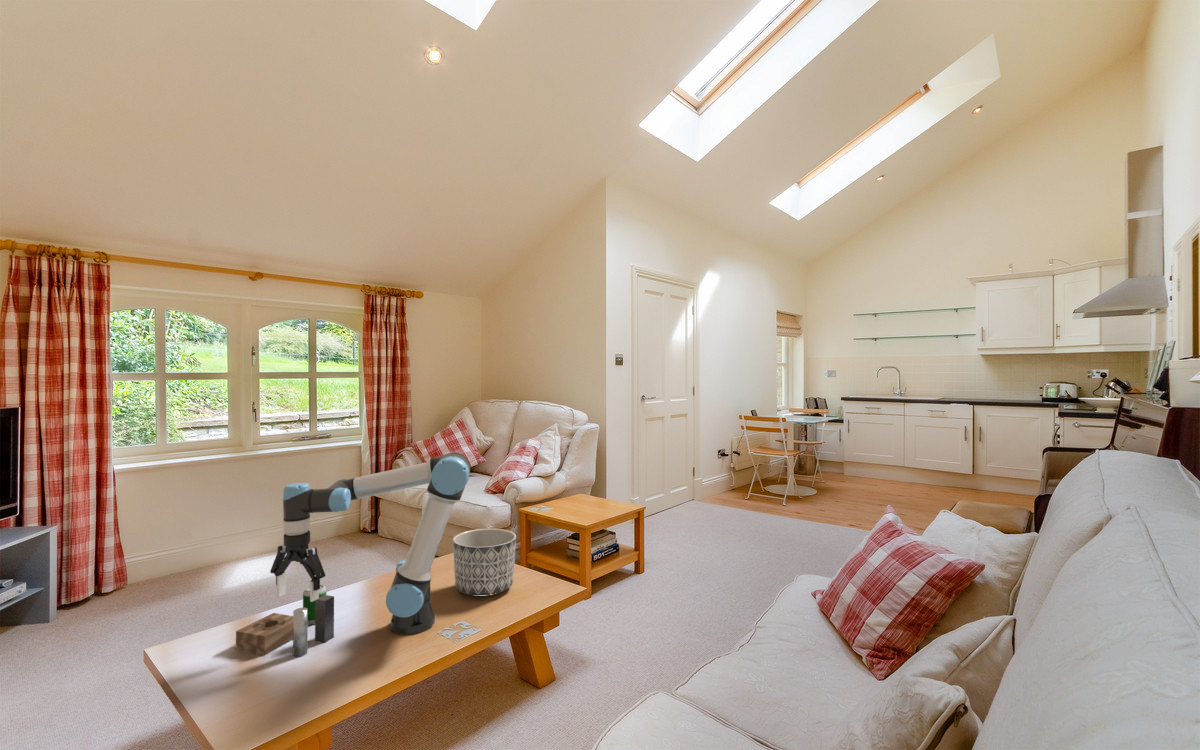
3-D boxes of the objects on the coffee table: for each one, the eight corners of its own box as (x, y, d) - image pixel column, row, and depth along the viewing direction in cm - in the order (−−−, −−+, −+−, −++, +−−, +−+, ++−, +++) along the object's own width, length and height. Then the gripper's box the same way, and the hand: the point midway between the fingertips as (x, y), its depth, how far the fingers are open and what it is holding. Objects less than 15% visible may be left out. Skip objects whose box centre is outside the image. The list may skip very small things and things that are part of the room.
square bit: (333, 637, 181) (334, 596, 181) (324, 642, 177) (325, 601, 177) (324, 635, 182) (324, 594, 182) (314, 641, 178) (315, 599, 178)
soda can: (316, 626, 189) (316, 592, 189) (297, 624, 190) (298, 590, 190) (330, 617, 196) (331, 584, 196) (313, 615, 198) (313, 582, 198)
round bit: (310, 651, 171) (310, 608, 171) (299, 658, 167) (300, 613, 168) (300, 649, 172) (300, 606, 172) (289, 656, 169) (290, 612, 169)
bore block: (300, 634, 182) (300, 617, 182) (264, 655, 169) (264, 636, 169) (273, 629, 186) (273, 612, 186) (235, 649, 172) (236, 631, 172)
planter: (466, 576, 237) (467, 527, 238) (523, 579, 234) (523, 529, 234) (441, 600, 212) (442, 545, 212) (504, 604, 208) (505, 548, 208)
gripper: (336, 531, 171) (337, 597, 171) (277, 525, 179) (278, 588, 179) (318, 538, 164) (319, 607, 164) (257, 532, 171) (258, 597, 171)
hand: (297, 597), depth 171 cm, fingers open, 13 cm apart
